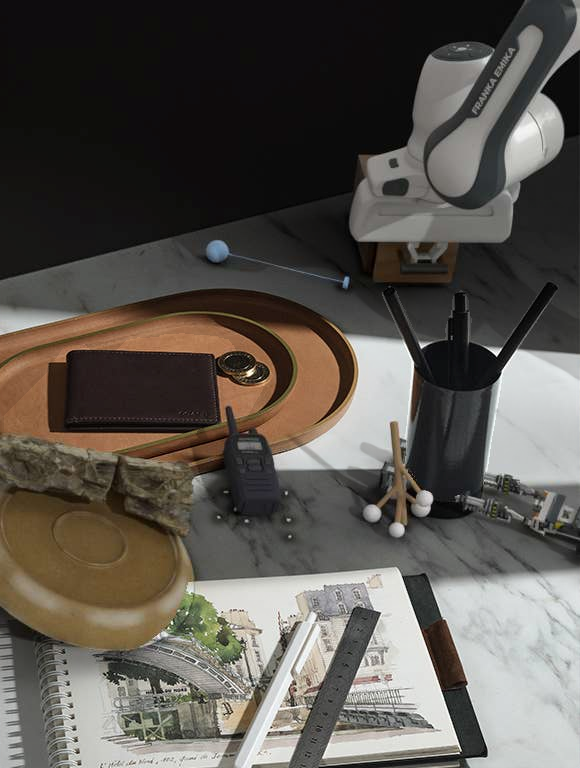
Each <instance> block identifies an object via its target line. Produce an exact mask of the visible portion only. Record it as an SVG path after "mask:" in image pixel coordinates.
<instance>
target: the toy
mask: <svg viewBox="0 0 580 768" xmlns="http://www.w3.org/2000/svg"><path fill="white" fill-rule="evenodd" d="M406 442H408V441H407V439H404V438H403V437H400V448H401V458H402V463H403V465H405V464H404V463H405V456H406ZM406 470H407V471H408V470H409V469H407V468H406ZM484 472H485V475H484V479H483V480H484V486H485V487H487V486H488V487H489V488H490V487H492V489H494V488H495V490H497V491H499V492H501V493H503V494H505V495H507V496H509V494H510V495H512V496H516V497H520V498H521V497H522V496H525V497H526V496H533V499H535V501H534V502H532V503H531V507H530V513H529V517H527V516H525V515H524V516H523V515H520V514H519V513H517V511H514V510H512V509H511V508H510V507H509V505H508V504H502V501H500V500H498V499H494V498H492V499H491V500H490V498H488V499H486V500H485V499H482V498H477V497H474V496H470V494H471V491H470V490H468V491H467V490H466V492H465V493H464V494H463V495H462V494H461V495H457V496H455V499H456V501H455V502H456V503H460V502H462V512H464V511H467V509H469V511H472V512H475V511H476V513H479V514H483V515H484V516H486V517H488V518H490V519H491V520H494V521H502V522H505V523H508V524H510V523H511V522H512V523H513V522H514V523H516V522H518V523H520V524H523V525H526V526H529V528H530V529H532V530H533V531H535V532H537V533H539V534H541V535H542V536H543V537H545V535H546V533H550V534H553V535H555V534H558V535H562V536H565V537H569V538H572V539H575V540H578V541H577V544H576V546H575V551H574V556H577V557H580V506H578V508H573V507H570V505H566V504H564V503H565V500H566V498H567V496H566V495H564V494H560V493H558V494H557V492H552V491H549V490H545V489H543V491H541V492H540V491H539V490H536V489H535V490H534V489H533V488H532V486H531V485H529V484H527V483H525V482H522V481H521V480H520V479H516V478H514V476H513V475H511V474H507V473H503V474H502V473H499V474H495V473H491V472H488V471H484ZM393 479H394V463H393V462H392V463H391V462H389V461H386V460H385V461H384V463H383V464H382V467H381V469H380V473H379V486H378V489H379V490H384V491H387V490H388V488H389V487H390V486H392V484H393ZM403 480H404V488H405V491H406V492H407V490H409V489H411V488H413V487H412V485H411V484H410V482H409V481H408V480H407V478H406V477H405V475H404V474H403ZM488 481H489V482H488ZM492 482H493V483H492ZM464 495H465V496H464ZM472 505H473V506H472ZM511 515H512V516H511Z"/></svg>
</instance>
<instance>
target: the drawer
mask: <svg viewBox="0 0 580 768" xmlns="http://www.w3.org/2000/svg"><path fill="white" fill-rule="evenodd" d="M434 244H435V242H420V243H419V247H418V248H415V249H416V251H417V252H429V251H430V249H431V248H432V247H433V246H434ZM459 245H460V242H448V246H447V249H446V250H445V251H444V252H443V253H442V254H441V255H440V256H439V258H438V259H436V263H410V259H411V253H410V251H409V249H408V247H407V244H406V242H375V247H374V253H373V258H374V262H375V266H374V272H373V273H372V279H373V282H374V283H452V279H453V276H454V270H455V266H456V260H457V255H458V250H459Z"/></svg>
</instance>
